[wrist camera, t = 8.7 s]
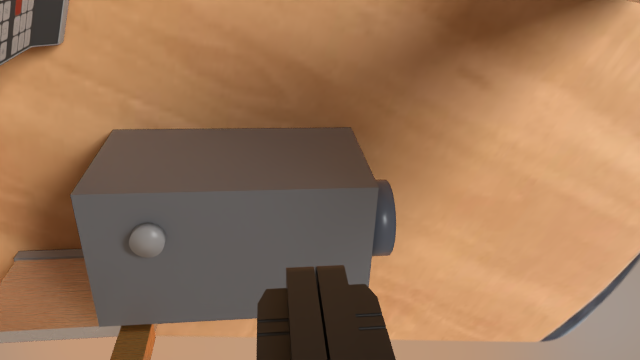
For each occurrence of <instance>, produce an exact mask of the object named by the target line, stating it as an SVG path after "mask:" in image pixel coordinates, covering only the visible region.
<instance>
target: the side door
mask: <svg viewBox="0 0 640 360" xmlns="http://www.w3.org/2000/svg"><path fill="white" fill-rule="evenodd" d="M156 328H157V324H142V325H124V326H106V327H99V323H98V319H97V314H96V310H95V305H94V301H93V296H92V292H91V287H90V282H89V278H88V273H87V269H86V264H85V260H84V258H71V259H45V260H19V261H15V263H14V264H13V266H12V267H11V268H10V270H9V271H8V273H7V274H6V276H5V277H4V279H3V280H2V281H1V283H0V343H10V342H27V341H45V340H63V339H79V338H98V337H115V336H118V338H117V340H116V344H115V347H114V350H113V353H112V356H111V359H110V360H150V359H151V355H152V351H153V346H154V342H155V338H156V337H155V332H156Z"/></svg>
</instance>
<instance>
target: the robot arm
mask: <svg viewBox="0 0 640 360" xmlns="http://www.w3.org/2000/svg"><path fill="white" fill-rule="evenodd" d="M628 1H632V2H637V3H640V0H628ZM257 360H396V359H395V356H394V353H393V349H392V346H391V342H390V339H389V335H388V332H387V329H386V325H385V322H384V318H383V316H382V312H381V308H380V305H379V302H378V298H377V296H376V295H375V294H374V293H373V292H372V291H371V290H370V289H369V288H368V286H367V285H366V284H353V285H349V284H348V280H347V275H346V271H345V267H344V265H333V266H316V268H315V270H314V267H292V268H286V288H276V289H266V290H265V292H264V293H263V295H262V297H261V299H260V300H259V302H258V306H257Z"/></svg>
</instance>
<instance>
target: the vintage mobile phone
mask: <svg viewBox="0 0 640 360" xmlns="http://www.w3.org/2000/svg"><path fill="white" fill-rule="evenodd" d="M68 4H69V0H0V65H2V64H4V63H5V62H7V61H9V60H10V59H12V58H14V57H16V56H17V55H19V54H21V53H22V52H24V51H26V50H28V49H29V48H31V47H39V46H51V45H59V44H61V43H62V42H63V41H64V33H65V26H66V19H67V11H68Z"/></svg>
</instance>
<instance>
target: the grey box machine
mask: <svg viewBox="0 0 640 360" xmlns="http://www.w3.org/2000/svg"><path fill="white" fill-rule="evenodd" d="M70 196H71V200H72V205H73V210H74V214H75V219H76V223H77V228H78V232H79V237H80V241H81V246H82V249H66V250H39V251H19V252H18V253H17V254H16V256H15V257H14V261H19V260H45V259H71V258H84V260H85V264H86V269H87V273H88V278H89V282H90V287H91V292H92V296H93V301H94V305H95V310H96V314H97V319H98V323H99V327H106V326H124V325H142V324H161V323H179V322H197V321H216V320H234V319H252V318H257V306H258V302H259V300H260V299H261V297H262V295H263V293H264V292H265V290H266V289H276V288H286V268H292V267H314V270H315V268H316V266H333V265H344V267H345V271H346V275H347V280H348V284H349V285H353V284H366V285H367V286H368V288H369V278H370V268H371V259H372V256H387V255H390V254H391V252H392V250H393V247H394V242H395V235H396V212H395V203H394V197H393V193H392V189H391V186H390V184H389V182H388V181H387V180H375V178H374V176H373V174H372V172H371V170H370V168H369V165H368V163H367V161H366V159H365V157H364V155H363V152H362V150H361V148H360V146H359V144H358V142H357V140H356V137H355V135H354V133H353V131H352V129H351V127H350V128H242V129H135V130H113V131H112V132H111V134H110V135H109V137H108V138H107V140H106V141H105V143H104V144H103V146H102V148H101V149H100V151H99V152H98V154H97V155H96V157H95V158H94V160H93V161H92V163H91V164H90V166H89V167H88V169H87V170H86V172H85V173H84V175H83V176H82V178H81V179H80V181H79V182H78V184H77V185H76V187H75V188H74V190H73V192H72V193H71V195H70Z"/></svg>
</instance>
